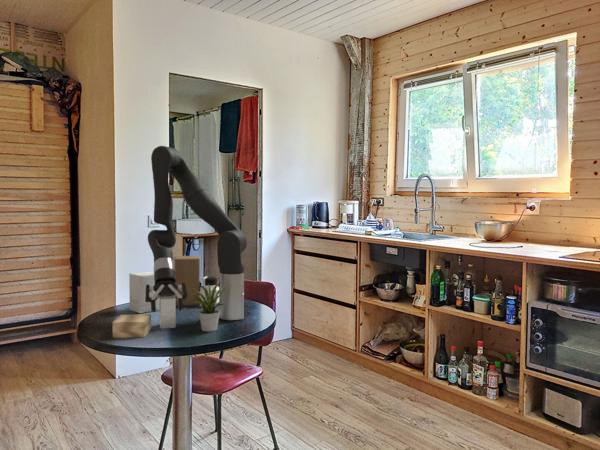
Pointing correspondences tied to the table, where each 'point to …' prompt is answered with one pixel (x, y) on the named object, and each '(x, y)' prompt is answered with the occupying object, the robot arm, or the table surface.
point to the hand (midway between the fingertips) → (167, 310)
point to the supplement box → (141, 291)
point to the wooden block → (188, 277)
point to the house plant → (209, 308)
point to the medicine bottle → (212, 282)
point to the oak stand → (131, 326)
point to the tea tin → (167, 310)
